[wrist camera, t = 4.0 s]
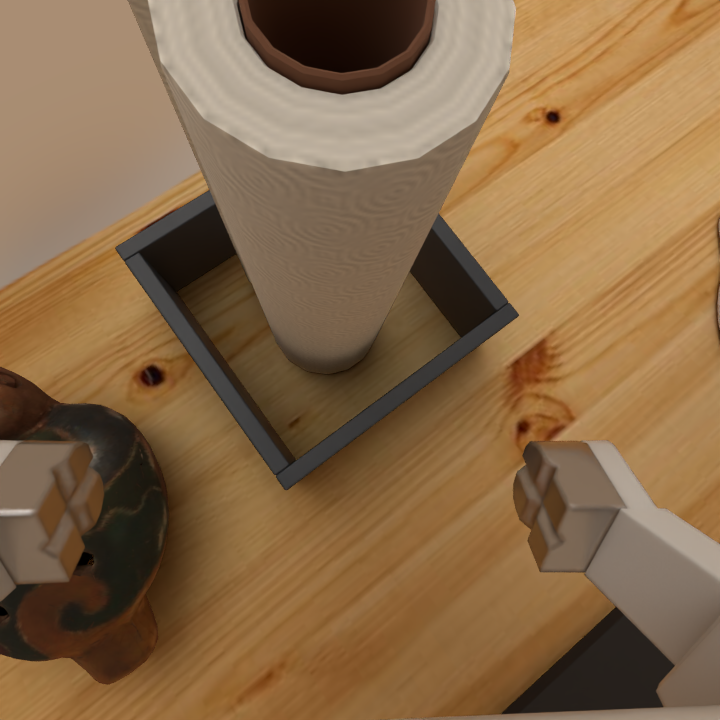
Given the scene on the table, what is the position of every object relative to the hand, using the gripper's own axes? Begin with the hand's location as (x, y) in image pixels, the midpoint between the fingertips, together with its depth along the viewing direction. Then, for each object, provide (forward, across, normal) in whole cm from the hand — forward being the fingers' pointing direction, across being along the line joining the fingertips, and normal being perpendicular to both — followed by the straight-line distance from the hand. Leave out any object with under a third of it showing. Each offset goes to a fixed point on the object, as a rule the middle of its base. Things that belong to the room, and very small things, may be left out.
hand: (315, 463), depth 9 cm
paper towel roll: (+19, 0, +8) cm, 20 cm away
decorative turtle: (+11, +12, +15) cm, 22 cm away
